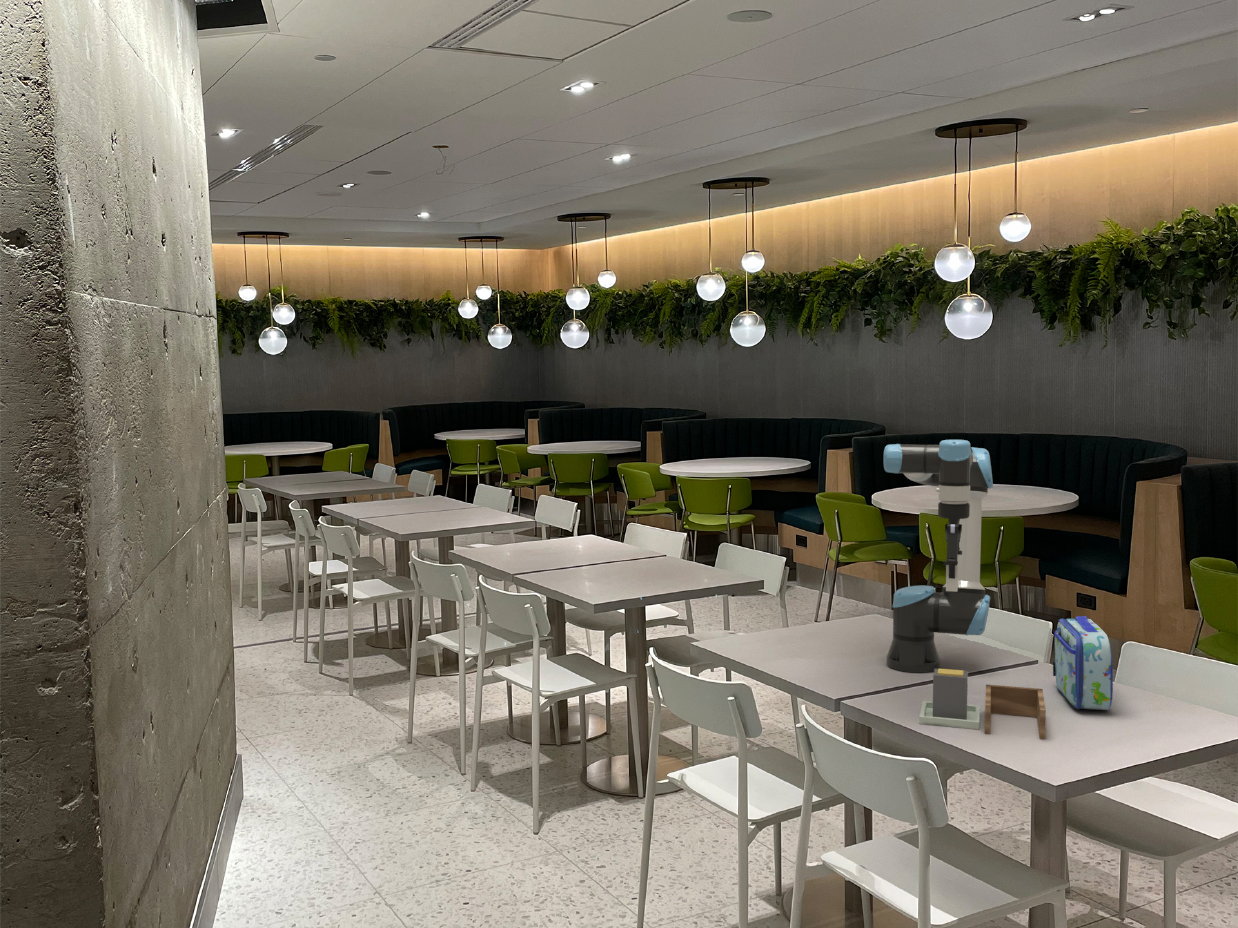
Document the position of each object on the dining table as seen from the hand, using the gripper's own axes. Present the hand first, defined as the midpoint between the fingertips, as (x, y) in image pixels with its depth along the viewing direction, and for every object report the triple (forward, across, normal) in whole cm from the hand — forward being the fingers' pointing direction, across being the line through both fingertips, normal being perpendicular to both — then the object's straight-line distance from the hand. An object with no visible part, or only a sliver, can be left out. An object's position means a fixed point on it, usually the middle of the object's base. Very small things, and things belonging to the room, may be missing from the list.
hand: (952, 585), depth 267 cm
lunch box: (+33, -20, +32) cm, 50 cm away
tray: (+33, +5, 0) cm, 33 cm away
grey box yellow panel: (+32, +5, 0) cm, 33 cm away
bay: (+33, +5, +15) cm, 36 cm away
